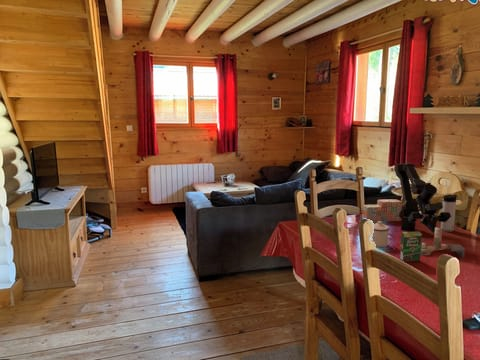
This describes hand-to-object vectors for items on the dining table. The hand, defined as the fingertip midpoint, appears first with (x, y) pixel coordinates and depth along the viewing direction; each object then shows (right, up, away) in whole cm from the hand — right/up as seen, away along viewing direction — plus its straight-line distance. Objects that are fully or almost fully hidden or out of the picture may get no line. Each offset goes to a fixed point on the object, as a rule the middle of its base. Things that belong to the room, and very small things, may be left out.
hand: (434, 232), depth 175 cm
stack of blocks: (-7, 0, +48) cm, 49 cm away
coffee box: (-18, -11, -13) cm, 25 cm away
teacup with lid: (-25, -7, +8) cm, 28 cm away
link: (-2, -8, -3) cm, 9 cm away
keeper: (+5, -9, -8) cm, 13 cm away
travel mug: (+22, -3, +27) cm, 35 cm away
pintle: (-8, -9, -4) cm, 12 cm away
